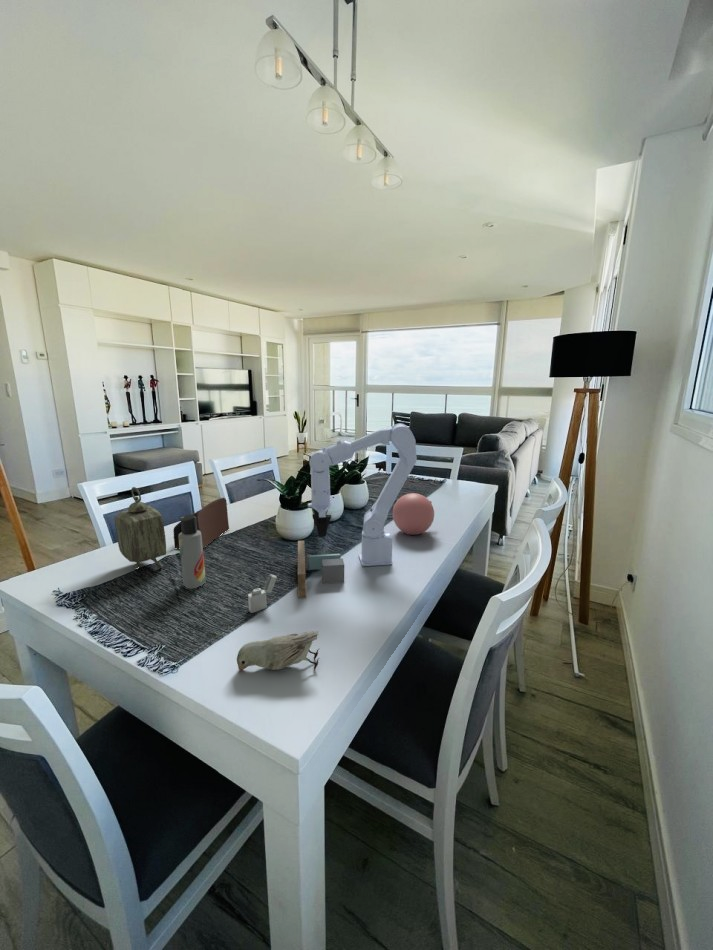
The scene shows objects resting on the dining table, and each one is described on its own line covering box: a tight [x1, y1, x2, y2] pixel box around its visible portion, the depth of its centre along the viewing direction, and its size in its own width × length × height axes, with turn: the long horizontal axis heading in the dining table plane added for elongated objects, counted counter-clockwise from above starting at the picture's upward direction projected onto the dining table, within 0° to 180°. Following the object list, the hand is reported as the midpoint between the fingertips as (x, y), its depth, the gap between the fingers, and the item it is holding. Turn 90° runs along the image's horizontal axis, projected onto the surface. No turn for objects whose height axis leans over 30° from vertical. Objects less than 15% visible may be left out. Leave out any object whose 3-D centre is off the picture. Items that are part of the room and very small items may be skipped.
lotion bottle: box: [178, 514, 206, 589], centre depth 104 cm, size 6×6×20 cm
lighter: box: [247, 573, 278, 614], centre depth 95 cm, size 7×2×8 cm, turn 125°
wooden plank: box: [297, 540, 307, 599], centre depth 110 cm, size 2×22×7 cm, turn 8°
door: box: [305, 553, 341, 571], centre depth 115 cm, size 10×2×4 cm, turn 98°
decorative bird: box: [236, 630, 321, 671], centre depth 74 cm, size 5×16×8 cm, turn 96°
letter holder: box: [173, 497, 230, 549], centre depth 136 cm, size 10×20×14 cm, turn 171°
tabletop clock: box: [114, 486, 167, 569], centre depth 113 cm, size 14×9×25 cm, turn 47°
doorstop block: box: [321, 558, 345, 584], centre depth 109 cm, size 6×4×6 cm, turn 98°
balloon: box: [392, 492, 435, 536], centre depth 144 cm, size 15×20×15 cm
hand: (321, 531), depth 120 cm, fingers open, 7 cm apart
